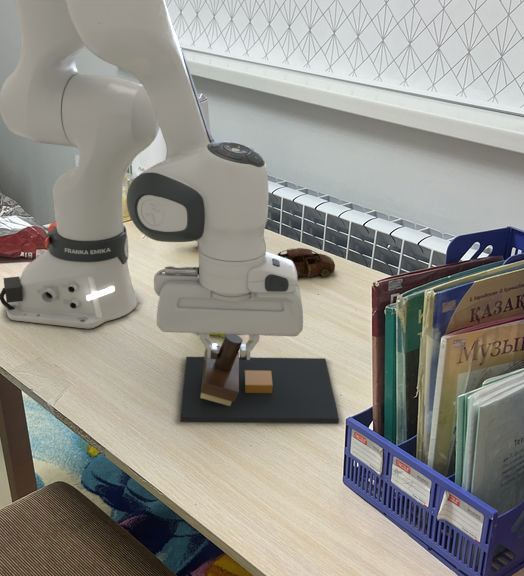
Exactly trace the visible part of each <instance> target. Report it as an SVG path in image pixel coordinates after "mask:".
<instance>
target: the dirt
mask: <svg viewBox="0 0 524 576" xmlns="http://www.w3.org/2000/svg"><path fill="white" fill-rule="evenodd" d="M244 381H245V393H272V388H273V384H272V373H271V371H252V370H245V375H244Z"/></svg>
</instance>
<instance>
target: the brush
mask: <svg viewBox="0 0 524 576" xmlns="http://www.w3.org/2000/svg"><path fill="white" fill-rule="evenodd" d="M241 344H243V338H242V336H240V335H238V334H226V335H225V337H223V339H222V343H221V345H218V355H217V359H207V349H206V348H205V350H204V354H203V357H204V364H203V375H202V385H201V397H200V398H202V399H206V400H209V401H213V402H217V403H220V404H224V405H227V406H230V405H231V403H232V402H235V401H236V398H237V396H238V393H239V357H240V347H241Z"/></svg>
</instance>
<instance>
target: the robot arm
mask: <svg viewBox="0 0 524 576" xmlns="http://www.w3.org/2000/svg"><path fill="white" fill-rule="evenodd" d="M14 1H15V5H16V11H17V15H18V16H17V17H18V20H19V21H18V22H19V26H20V33H21V50H20V51H21V52H20V56H19V57H20V58H19V60H18V63H17V65H16V67H15V69H14V70H13V72H12V73H11V74H9V76H7V78H6V79H5V81H4V82H3V84H2V86H1V89H0V116H1V118H2V121H3V122H4V124H5V126H6V127H7V129H8V130H9V131H10V132H11V133H13V134H14V135H15V136H19V137H21V138H24V139H26V140H30V141H33V142H36V143H38V144H44V145H52V146H60V147H61V146H62V147H68V148H69V147H70V148H76V149H77V150H78V165H77V166H74V167H72V168H71V169H69V170H67V171H65V172H64V173H62V174H61V175H60V176H58V178H57V179H56V181H55V183H54V185H53V187H52V199H53V208H54V217H55V221H53V222H51V223H50V224H49V226H48V228H47V233H46V234H45V240H44V247H45V248H46V250H45V251H44V252H42V253H41V254H40V255H38V256H37V257H36V258H34V259H33V260H32V261H30V262H29V263H28V264H27V265H26V267H24V269H23V270H22V272H21V275H20V276H9V277H3V288H2V289H1V291H0V303H1V304H2V305H3V306H4V307H5V308H6V315H7V317H8V318H9V320H11V321H17V322H25V323H34V324H43V325H50V326H51V325H52V326H53V325H54V326H61V327H69V328H77V329H78V328H79V329H89V330H90V329H94V328H97V327H99V326H100V325H103V324H104V323H106V322H109V321H112V320H116V319H119V318H122V317H124V316H126V315H128V314H129V313H131V312H132V311H134V310H135V309H136V307H137V306H138V304H139V303H138V302H139V300H138V297H137V294H136V292H135V288H134V285H133V282H132V279H131V274H130V270H129V264H128V259H129V256H130V255H129V253H130V252H129V240H128V239H129V238H128V233H127V228H126V226H125V225H124V206H123V205H124V204H123V203H124V202H123V201H124V200H123V199H124V183H125V178H126V175H127V172H128V170H129V168H130V166H131V164H132V163H133V161H134V160H135V159H136V158H137V157H138V156H139V155H140V154H141V153H142V152H144V151H145V150H146V149H148V148H149V147H150V146H151V145H152V143H153V142H154V141H155V139H156V138H157V136H158V133H159V130H160V132H161V134H162V138H163V139H164V144H165V148H166V152H165V153H166V154H165V159H164V160H162V161H161V162H158V163H156V164H154V165H153V166H151V167H149V168H147V169H145V170H143V171H142V172H141V173H140V174H139V175H137V176H136V177H135V178H133V180H132V181H131V182H130V184H129V186H128V189H127V193H126V207H127V211H128V214H129V218H130V219H131V221H132V223H133V225H134V226H135V228H137V230H138V231H139V232H140V233H141V234H143V235H144V236H146V237H147V238H149V239H151V240H153V241H156V242H163V243H189V242H197V245H198V244H199V247H198V266H182V267H179V266H173V265H171V266H169V265H168V266H165V267H164V268H162V269H160V270H158V271H157V272H156V273H154V277H153V289H154V292H155V294H156V295H157V296H158V302H157V309H156V311H157V312H156V326H157V328H158V329H159V330H160V331H161V332H163V333H180V334H181V333H184V334H199V341H200V342H201V344H202V345H203V347H204V348H205V349H207V359H217V355H218V346H219V343H215V342H212V340H211V339H210V334H236V335H238V336H240V335H242V336H248V340H247V341H246V343H242V344H241V347H240V349H239V357H240V360H250V357H251V352H252V351H253V349H255V347H256V345H257V344H258V343H259V341H260V336H271V337H272V336H273V337H297V336H299V335H300V334H301V333H302V331H303V329H304V310H303V302H302V294H301V290H300V286H299V284H298V281H299V280H298V279H299V278H298V277H299V276H297V270H296V267H295V265H294V263H293V261H291V260H289V259H286V257H285V258H283V257H280V256H277V255H278V254H275V253H272V252H269V251H267V245H266V244H267V243H266V241H265V228H266V226H267V223H268V219H269V178H268V177H269V176H268V175H269V174H268V169H267V164H266V162H265V160H264V158H263V156H262V155H261V154H260V153H259V152H258V151H256V150H255V149H254V148H252V147H250V146H249V145H245V144H242V143H240V142H236V141H235V142H234V141H224V140H218V141H215V140H214V137H213V135H212V134H211V132H210V131H211V130H210V129H209V126H208V122H207V120H206V116H205V113H204V110H203V107H202V104H201V101H200V98H199V94H198V92H197V89H196V86H195V82H194V79H193V76H192V73H191V70H190V67H189V65H188V62H187V61H188V60H187V58H186V55H185V53H184V50H183V48H182V46H181V43H180V41H179V38H178V36H177V34H176V31H175V29H174V26H173V23H172V20H171V17H170V14H169V11H168V7H167V4H166V1H165V0H14ZM86 49H87V50H88V51H89V52H91V54H93V55H94V56H96V57H97V58H99V59H100V60H102V61H104V62H105V63H108V64H110V65H112V66H115V67H118V68H120V69H122V70H123V71H125V72H127V73H128V74H130V75H131V76H132V77H134V78H135V79H136V80H137V81H138V82H139V83H138V82H136V81H132V80H129V79H126V78H123V77H119V76H107V75H99V74H98V75H95V74H88V73H87V74H85V73H82V72H79V70H78V68H77V63H76V55H78V54H80V53H82V52H83V51H85V50H86Z"/></svg>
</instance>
